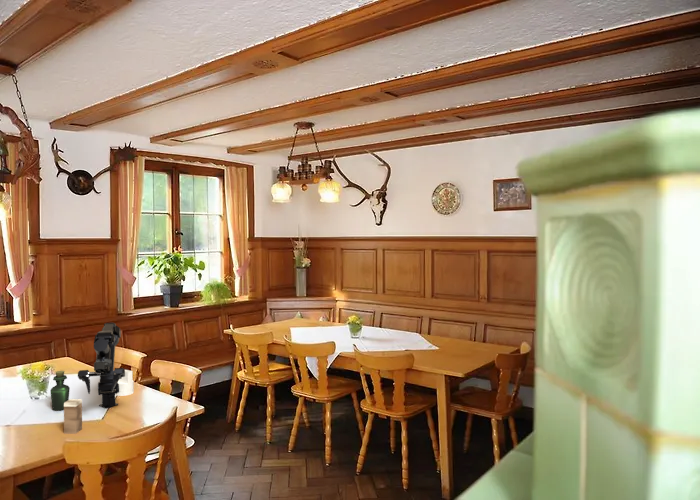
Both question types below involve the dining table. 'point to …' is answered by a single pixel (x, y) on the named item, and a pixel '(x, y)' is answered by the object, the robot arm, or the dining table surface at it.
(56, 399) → the potion bottle
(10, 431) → the dining table surface
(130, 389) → the white cutaway cylinder
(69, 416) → the cream and brown block
